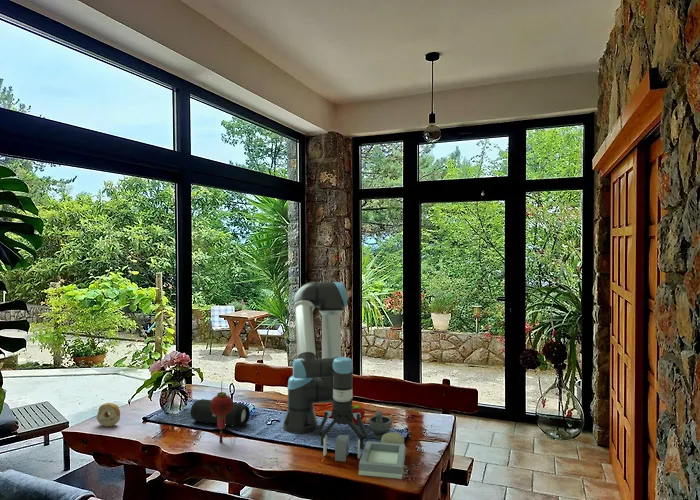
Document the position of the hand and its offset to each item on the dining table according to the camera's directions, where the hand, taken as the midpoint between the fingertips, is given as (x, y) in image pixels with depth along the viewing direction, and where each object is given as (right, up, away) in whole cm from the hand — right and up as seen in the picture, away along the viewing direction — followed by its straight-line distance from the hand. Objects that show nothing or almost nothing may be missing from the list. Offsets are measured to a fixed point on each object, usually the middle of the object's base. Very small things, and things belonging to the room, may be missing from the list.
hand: (342, 455), depth 177 cm
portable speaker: (-56, -1, +34) cm, 66 cm away
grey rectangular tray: (+15, -1, -6) cm, 16 cm away
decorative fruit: (+6, -1, +34) cm, 35 cm away
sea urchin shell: (+20, -1, +12) cm, 24 cm away
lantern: (-50, 0, +13) cm, 51 cm away
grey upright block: (0, -1, 0) cm, 1 cm away
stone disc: (-104, 0, +30) cm, 109 cm away
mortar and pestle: (+16, -1, +21) cm, 26 cm away
